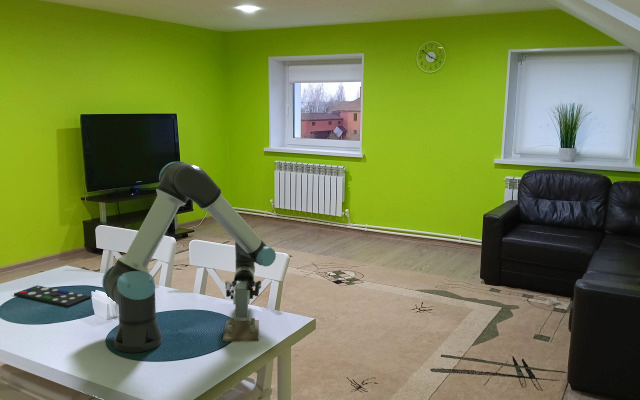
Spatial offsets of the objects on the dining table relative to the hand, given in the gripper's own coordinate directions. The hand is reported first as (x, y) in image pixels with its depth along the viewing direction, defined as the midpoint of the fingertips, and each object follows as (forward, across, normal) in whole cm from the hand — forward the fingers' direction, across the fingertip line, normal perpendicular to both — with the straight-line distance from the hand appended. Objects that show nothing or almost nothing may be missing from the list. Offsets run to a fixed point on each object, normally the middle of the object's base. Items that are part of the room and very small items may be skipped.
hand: (241, 300), depth 191 cm
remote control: (-43, +79, -13) cm, 91 cm away
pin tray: (-4, 0, -13) cm, 14 cm away
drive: (-4, 0, -6) cm, 7 cm away
